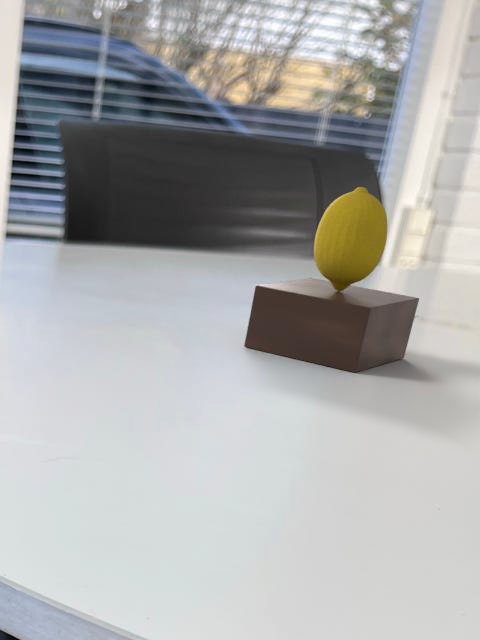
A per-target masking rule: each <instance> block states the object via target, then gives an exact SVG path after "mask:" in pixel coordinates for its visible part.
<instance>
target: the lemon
mask: <svg viewBox="0 0 480 640" xmlns="http://www.w3.org/2000/svg"><path fill="white" fill-rule="evenodd" d="M387 238H388V216H387V212H386V210H385V207H384V205H383V204H382V203H381V201H380V200H379V199H378V198H377V197H376V196H375V195H372V194H371V193H369V191H368V188H367V187H364V186H358V187H356V188H355V189H354V190H353V191H349V192H347V193H344V194H342V195H340V196H339V197H337V198H336V199H334V200H333V201H332V202H331V203H330V204H329V206H328V207H327V208H326V209H325V211H324V213H323V214H322V217H321V219H320V221H319V223H318V226H317V229H316V232H315V237H314V243H313V257H314V262H315V266H316V268H317V270H318V272H319V273H320V274H321V275H322V276H323V277H324V278H325V279H326V280H327V281H330V282H331V284H332V285H333V287H334V289H335V290H337V291H343V290H345V289H346V288H347V287H348V286H349V285H353V284H355V283H358V282H361V281H362V280H364V279H366V278H367V277H368V276H369V275H371V274H372V273H373V272H374V270H375V269H376V268H377V266H378V264H379V263H380V261H381V259H382V257H383V254H384V251H385V249H386V245H387Z"/></svg>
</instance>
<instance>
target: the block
mask: <svg viewBox="0 0 480 640" xmlns="http://www.w3.org/2000/svg"><path fill="white" fill-rule="evenodd" d="M419 301H420V298H419V297H415V296H410V295H404V294H399V293H395V292H389V291H385V290H384V291H383V290H377V289H373V288H368V287H361V286H357V285H353V284H351V285H349V286H348V287H347V288H346V289H345V290H343V291H337V290H335V289H334V287H333V285H332V284H331V282H330V281H329V280H324V279H320V278H319V279H318V278H314V277H307V278H299V279H293V280H292V279H291V280H284V281H277V282H271V283H263V284H255V287H254V293H253V297H252V303H251V307H250V308H251V309H250V314H249V320H248V325H247V330H246V334H245V340H244V345H243V347H245V348H248V349H252V350H257V351H261V352H265V353H270V354H273V355H278V356H282V357H287V358H290V359H296V360H299V361H304V362H307V363H308V362H309V363H313V364H316V365H321V366H324V367H325V366H326V367H329V368H333V369H337V370H342V371H347V372H351V373H358V372H361V371H364V370H368V369H372V368H375V367H378V366H382V365H385V364H388V363H389V364H390V363H393V362H395V361H398V360H403V359H404V358H405V355H406V351H407V348H408V343H409V341H410V336H411V333H412V328H413V324H414V321H415V317H416V312H417V309H418V305H419Z"/></svg>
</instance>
